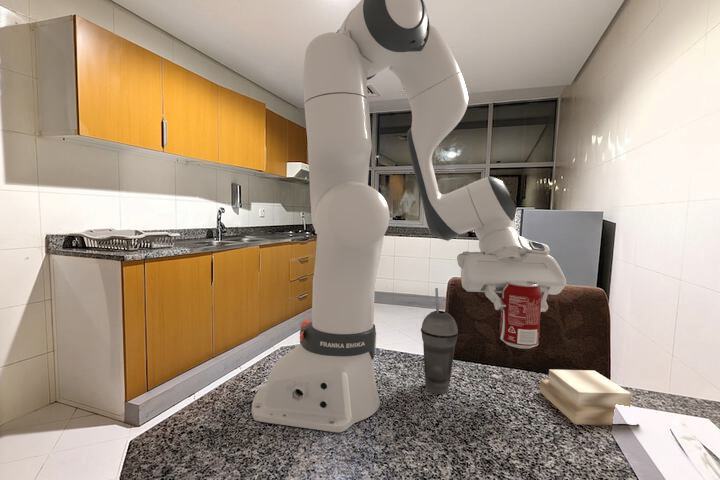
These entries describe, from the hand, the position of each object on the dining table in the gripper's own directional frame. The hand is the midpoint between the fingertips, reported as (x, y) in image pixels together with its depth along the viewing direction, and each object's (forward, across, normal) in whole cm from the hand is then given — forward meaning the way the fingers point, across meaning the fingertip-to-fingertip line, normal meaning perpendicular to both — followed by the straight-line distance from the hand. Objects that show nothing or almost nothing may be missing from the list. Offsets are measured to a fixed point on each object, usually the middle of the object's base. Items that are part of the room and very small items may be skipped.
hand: (522, 309), depth 66 cm
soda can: (+5, 0, +6) cm, 7 cm away
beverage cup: (+10, -15, +14) cm, 23 cm away
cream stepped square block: (+14, +11, +10) cm, 21 cm away
